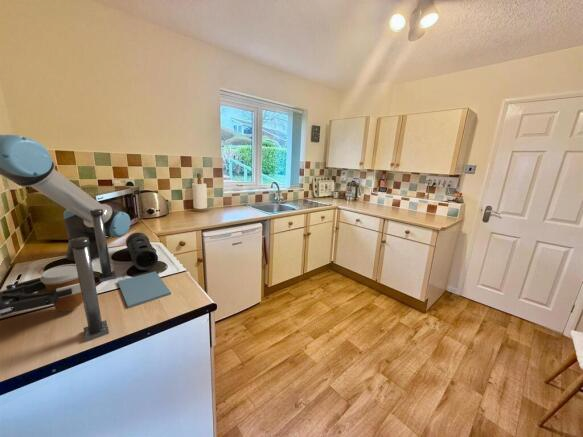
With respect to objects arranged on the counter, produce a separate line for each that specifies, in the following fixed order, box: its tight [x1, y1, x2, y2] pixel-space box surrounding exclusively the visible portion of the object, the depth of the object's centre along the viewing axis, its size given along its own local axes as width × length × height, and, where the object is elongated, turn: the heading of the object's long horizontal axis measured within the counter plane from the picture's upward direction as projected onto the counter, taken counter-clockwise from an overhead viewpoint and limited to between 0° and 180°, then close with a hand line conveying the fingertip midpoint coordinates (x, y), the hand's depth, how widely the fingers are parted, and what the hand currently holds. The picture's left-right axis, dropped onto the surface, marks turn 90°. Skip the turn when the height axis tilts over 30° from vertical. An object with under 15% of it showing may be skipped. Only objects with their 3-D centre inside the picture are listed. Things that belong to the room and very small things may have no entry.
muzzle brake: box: [125, 231, 159, 272], centre depth 109 cm, size 10×28×10 cm, turn 39°
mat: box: [117, 271, 172, 309], centre depth 88 cm, size 20×13×1 cm, turn 43°
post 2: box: [90, 209, 117, 283], centre depth 90 cm, size 5×5×28 cm
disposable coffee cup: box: [39, 263, 83, 312], centre depth 72 cm, size 10×10×12 cm
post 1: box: [68, 237, 110, 343], centre depth 62 cm, size 5×5×28 cm
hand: (85, 280), depth 75 cm, fingers closed on disposable coffee cup, 8 cm apart
